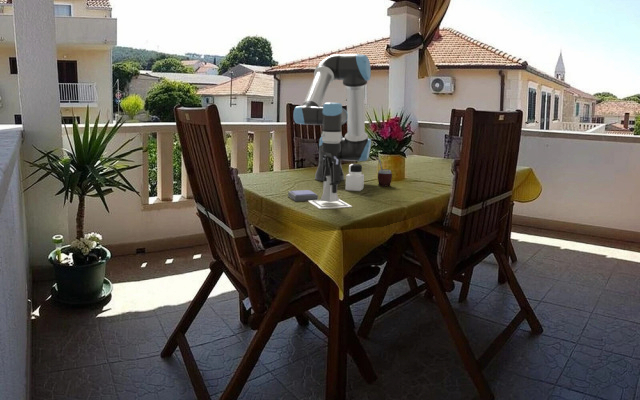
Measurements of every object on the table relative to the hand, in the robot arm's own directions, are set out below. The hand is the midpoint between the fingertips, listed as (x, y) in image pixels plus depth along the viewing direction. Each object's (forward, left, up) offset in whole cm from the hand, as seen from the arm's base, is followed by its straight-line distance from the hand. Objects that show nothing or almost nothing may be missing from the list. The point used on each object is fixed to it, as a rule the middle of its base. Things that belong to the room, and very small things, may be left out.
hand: (329, 198), depth 200 cm
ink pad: (+7, -14, -2) cm, 16 cm away
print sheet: (0, 0, -2) cm, 2 cm away
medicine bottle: (-23, -27, -3) cm, 36 cm away
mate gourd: (-41, -32, -3) cm, 52 cm away
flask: (0, 0, -1) cm, 1 cm away
